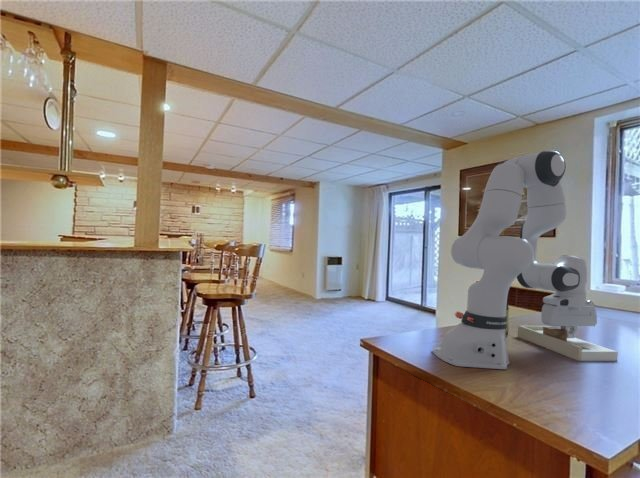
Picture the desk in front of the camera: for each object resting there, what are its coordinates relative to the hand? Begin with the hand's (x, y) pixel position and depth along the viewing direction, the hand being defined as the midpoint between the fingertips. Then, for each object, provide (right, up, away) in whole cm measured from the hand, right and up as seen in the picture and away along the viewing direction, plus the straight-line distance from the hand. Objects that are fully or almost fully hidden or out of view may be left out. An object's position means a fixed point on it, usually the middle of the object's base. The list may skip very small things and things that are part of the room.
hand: (568, 337), depth 118 cm
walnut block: (-5, -1, 0) cm, 5 cm away
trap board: (-1, -4, +1) cm, 4 cm away
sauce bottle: (-17, -3, +15) cm, 23 cm away
